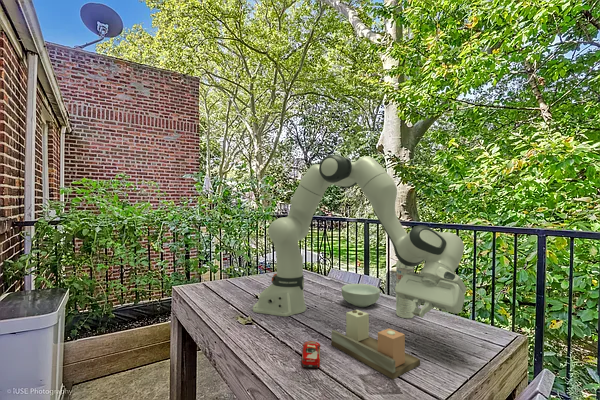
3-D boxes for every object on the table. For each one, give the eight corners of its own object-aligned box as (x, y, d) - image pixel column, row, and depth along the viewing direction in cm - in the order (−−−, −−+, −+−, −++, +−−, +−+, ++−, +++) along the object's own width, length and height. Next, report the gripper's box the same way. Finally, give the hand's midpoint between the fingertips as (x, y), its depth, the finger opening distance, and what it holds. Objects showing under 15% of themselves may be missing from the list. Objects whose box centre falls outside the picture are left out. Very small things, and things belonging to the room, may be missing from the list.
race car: (303, 347, 93) (303, 334, 94) (320, 348, 93) (320, 335, 93) (299, 370, 80) (299, 355, 80) (320, 371, 80) (320, 355, 80)
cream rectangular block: (357, 332, 100) (357, 308, 100) (368, 337, 96) (368, 312, 96) (346, 336, 97) (346, 311, 97) (357, 341, 93) (357, 316, 93)
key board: (357, 335, 101) (358, 322, 102) (420, 364, 83) (420, 348, 83) (331, 345, 94) (331, 330, 94) (392, 379, 76) (392, 361, 76)
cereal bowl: (334, 300, 139) (334, 285, 139) (364, 296, 146) (364, 282, 146) (355, 312, 123) (355, 295, 124) (387, 307, 130) (387, 291, 130)
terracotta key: (389, 355, 84) (389, 327, 85) (404, 362, 80) (404, 333, 81) (377, 360, 82) (377, 331, 82) (393, 368, 77) (393, 337, 78)
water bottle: (415, 319, 116) (415, 254, 117) (397, 318, 117) (397, 254, 118) (412, 313, 123) (412, 252, 123) (395, 312, 124) (395, 251, 125)
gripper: (402, 265, 101) (383, 299, 95) (464, 277, 85) (446, 319, 79) (410, 277, 104) (392, 311, 98) (472, 291, 87) (455, 333, 81)
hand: (417, 315), depth 88 cm, fingers closed
